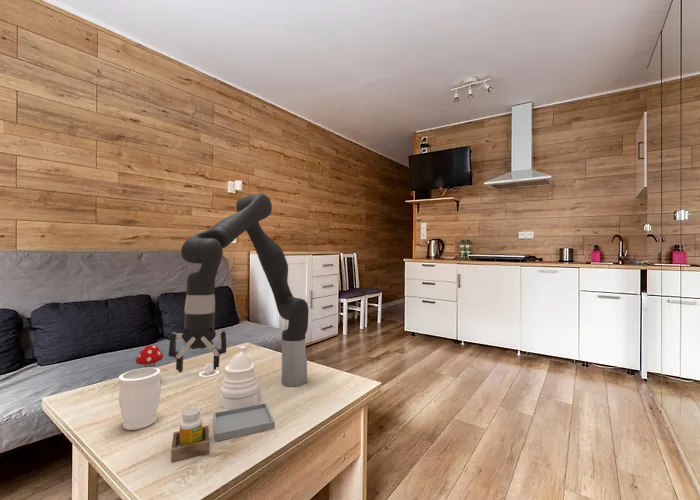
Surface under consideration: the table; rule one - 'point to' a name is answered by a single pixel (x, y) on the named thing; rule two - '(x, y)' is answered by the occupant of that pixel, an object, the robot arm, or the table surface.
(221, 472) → the table surface
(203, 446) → the holder
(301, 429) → the table surface
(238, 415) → the tray
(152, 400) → the jar
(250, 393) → the honey pot
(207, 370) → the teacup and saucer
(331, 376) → the table surface
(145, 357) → the decorative mushroom
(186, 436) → the supplement bottle
